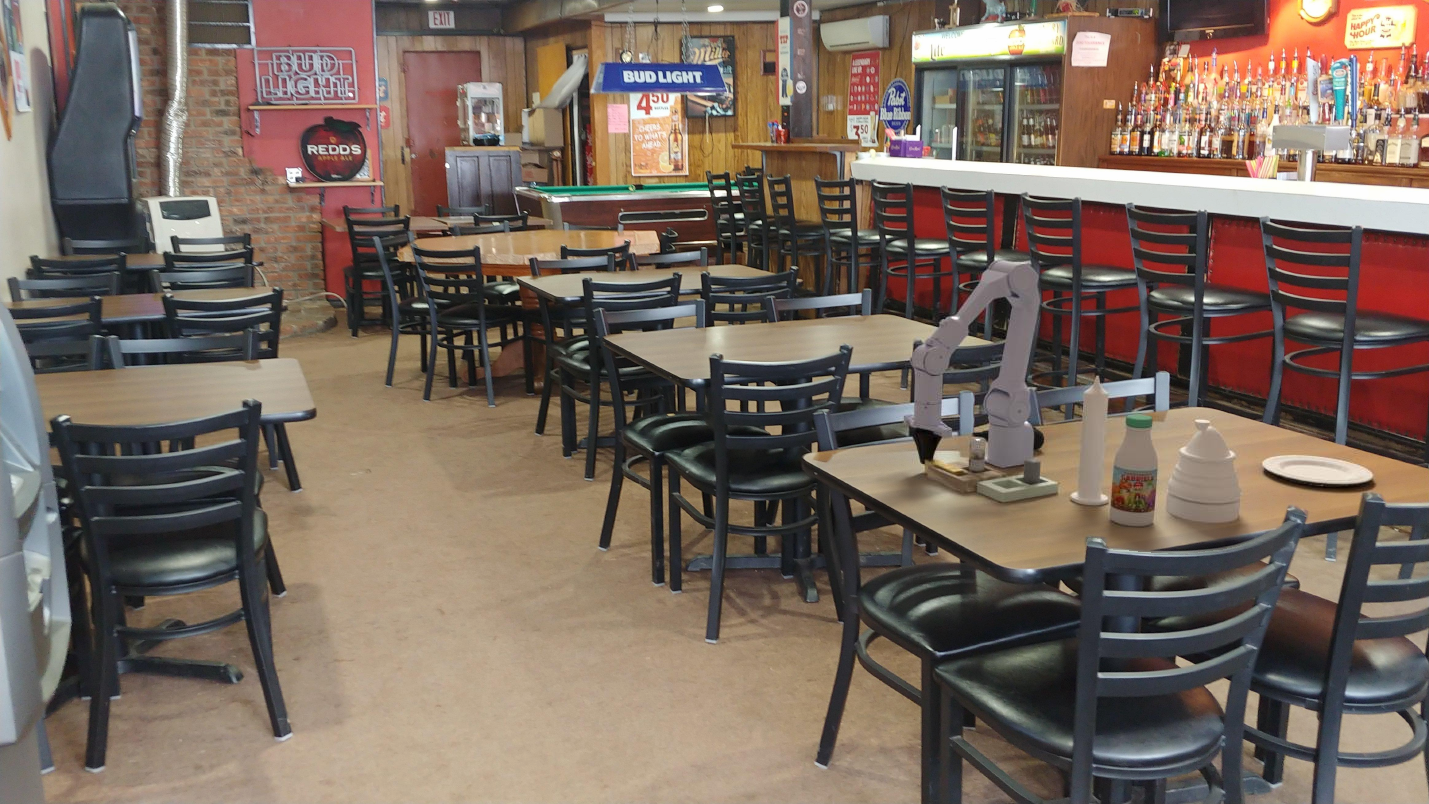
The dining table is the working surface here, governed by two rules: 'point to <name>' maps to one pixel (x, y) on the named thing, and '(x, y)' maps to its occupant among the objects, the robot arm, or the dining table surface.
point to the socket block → (967, 480)
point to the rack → (1019, 484)
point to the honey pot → (1205, 479)
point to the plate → (1317, 470)
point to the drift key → (943, 467)
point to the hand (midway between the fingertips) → (926, 463)
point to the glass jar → (976, 455)
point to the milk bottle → (1135, 475)
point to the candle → (1092, 447)
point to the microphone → (1037, 437)
